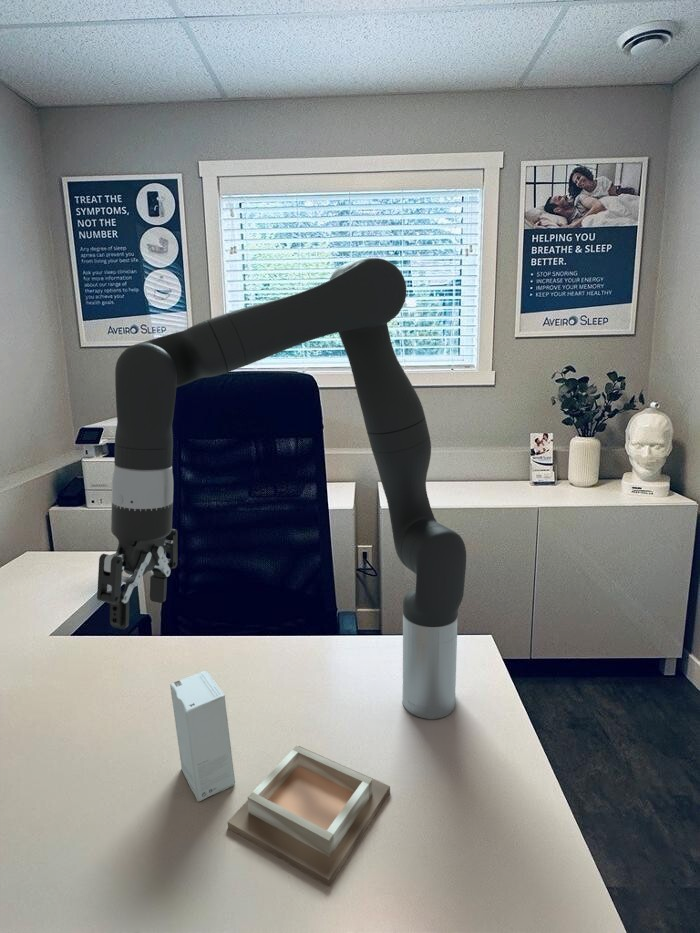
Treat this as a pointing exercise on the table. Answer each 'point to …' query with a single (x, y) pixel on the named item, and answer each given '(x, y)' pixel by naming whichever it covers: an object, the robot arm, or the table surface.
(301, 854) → the holder board
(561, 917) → the table surface
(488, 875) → the table surface
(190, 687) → the skincare box
